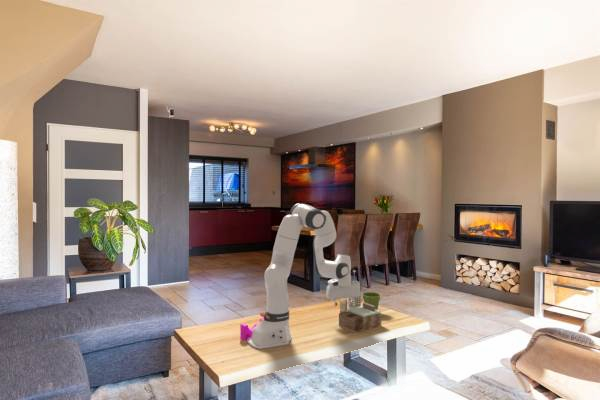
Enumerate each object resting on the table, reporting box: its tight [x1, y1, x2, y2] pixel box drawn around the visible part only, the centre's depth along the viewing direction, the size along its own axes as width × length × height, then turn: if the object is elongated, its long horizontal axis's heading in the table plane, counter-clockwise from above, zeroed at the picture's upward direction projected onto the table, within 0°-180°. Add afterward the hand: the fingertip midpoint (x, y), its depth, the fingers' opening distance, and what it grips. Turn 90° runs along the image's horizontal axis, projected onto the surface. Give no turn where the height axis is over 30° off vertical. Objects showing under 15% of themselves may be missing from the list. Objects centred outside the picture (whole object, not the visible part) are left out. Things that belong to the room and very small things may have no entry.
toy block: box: [239, 317, 264, 341], centre depth 194 cm, size 15×6×8 cm, turn 131°
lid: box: [347, 302, 382, 317], centre depth 210 cm, size 13×13×4 cm
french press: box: [347, 269, 364, 309], centre depth 239 cm, size 10×12×25 cm
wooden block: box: [339, 298, 348, 313], centre depth 217 cm, size 3×3×12 cm
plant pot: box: [361, 291, 382, 311], centre depth 233 cm, size 12×12×11 cm
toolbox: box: [338, 311, 382, 334], centre depth 209 cm, size 20×13×7 cm, turn 125°
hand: (343, 305), depth 217 cm, fingers open, 8 cm apart
